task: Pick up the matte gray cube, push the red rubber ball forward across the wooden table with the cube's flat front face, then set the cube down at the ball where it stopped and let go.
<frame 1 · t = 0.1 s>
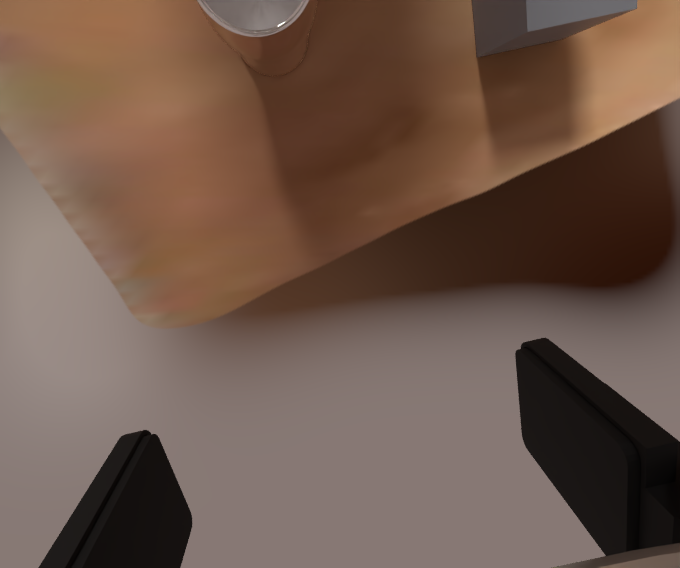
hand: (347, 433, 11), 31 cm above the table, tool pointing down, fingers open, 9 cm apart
beer glass: (271, 37, 35), on the table
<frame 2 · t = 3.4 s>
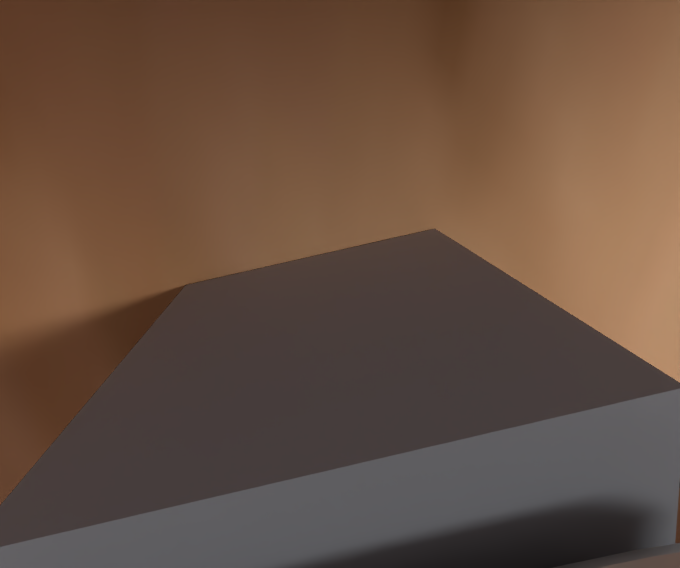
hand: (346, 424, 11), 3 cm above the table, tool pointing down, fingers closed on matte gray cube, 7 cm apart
matte gray cube: (337, 366, 14), on the table, touching gripper
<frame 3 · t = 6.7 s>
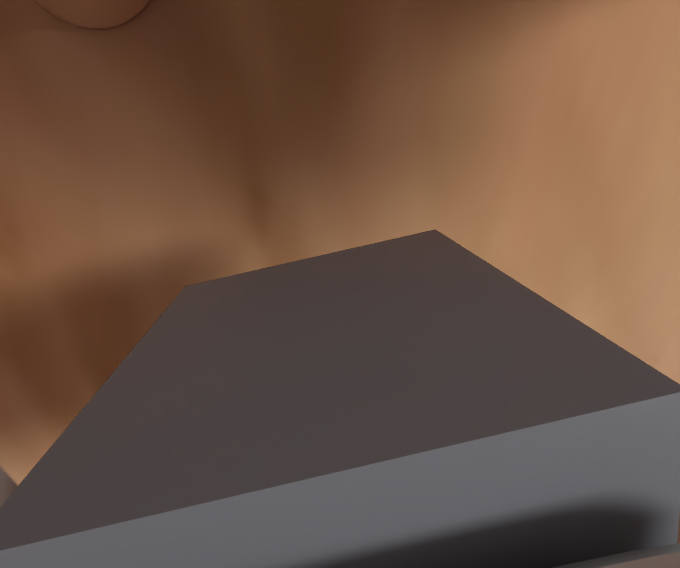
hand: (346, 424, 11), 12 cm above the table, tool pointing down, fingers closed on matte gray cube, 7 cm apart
matte gray cube: (337, 367, 14), point 9 cm above the table, touching gripper
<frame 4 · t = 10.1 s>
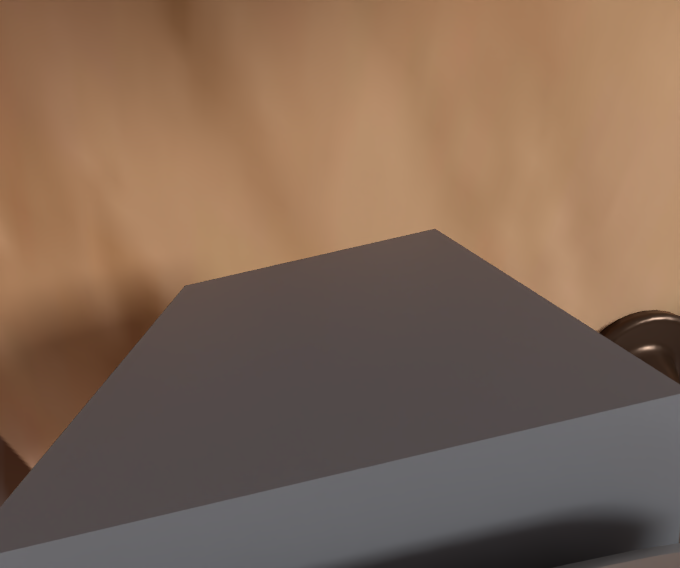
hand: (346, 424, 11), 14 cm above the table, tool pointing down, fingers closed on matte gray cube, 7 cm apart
candlestick: (635, 371, 29), on the table
matte gray cube: (337, 367, 14), point 11 cm above the table, touching gripper
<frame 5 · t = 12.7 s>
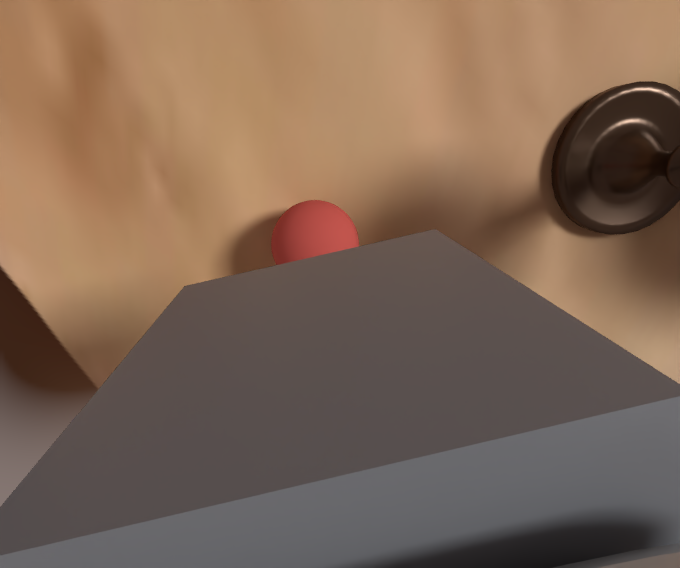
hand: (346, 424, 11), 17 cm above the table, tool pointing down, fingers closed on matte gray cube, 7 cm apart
candlestick: (618, 161, 27), on the table
matte gray cube: (337, 367, 14), point 14 cm above the table, touching gripper
ball: (315, 244, 24), on the table
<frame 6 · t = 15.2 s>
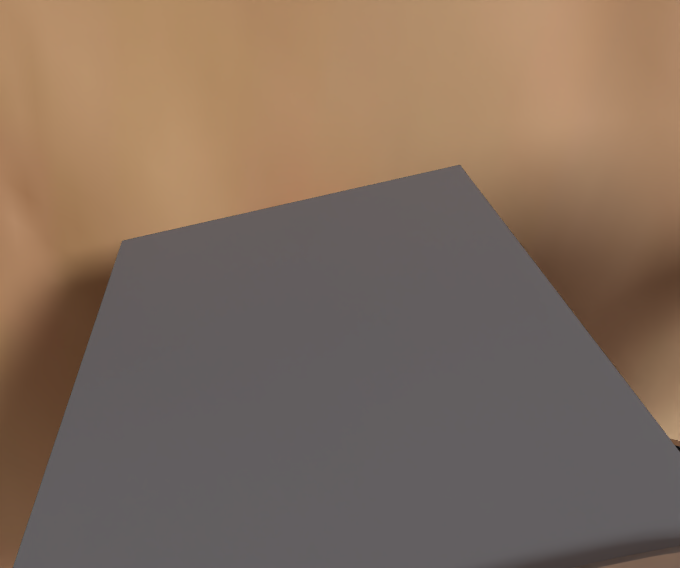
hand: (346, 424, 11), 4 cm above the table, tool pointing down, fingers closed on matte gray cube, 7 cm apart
matte gray cube: (322, 314, 12), point 2 cm above the table, tilted 26°, touching ball, gripper
when the fingers open (4 cm above the table, at t = 15.9 s): matte gray cube drops 2 cm, on the table.
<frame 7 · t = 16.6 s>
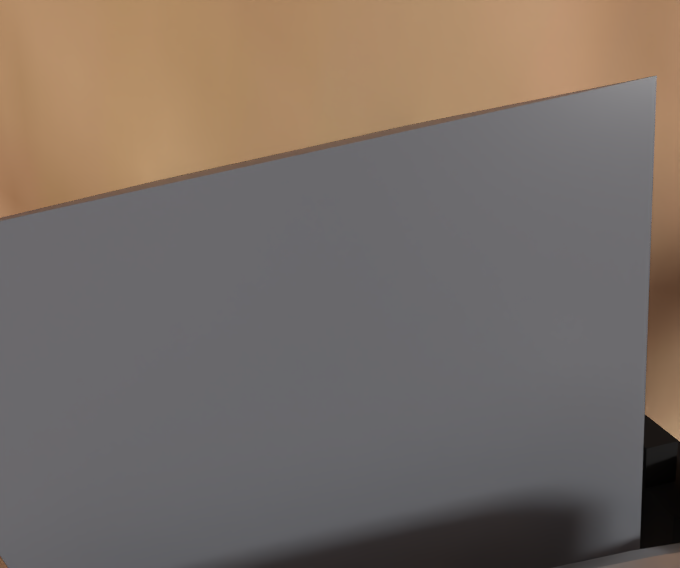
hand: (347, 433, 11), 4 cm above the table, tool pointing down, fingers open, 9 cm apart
matte gray cube: (313, 277, 13), on the table
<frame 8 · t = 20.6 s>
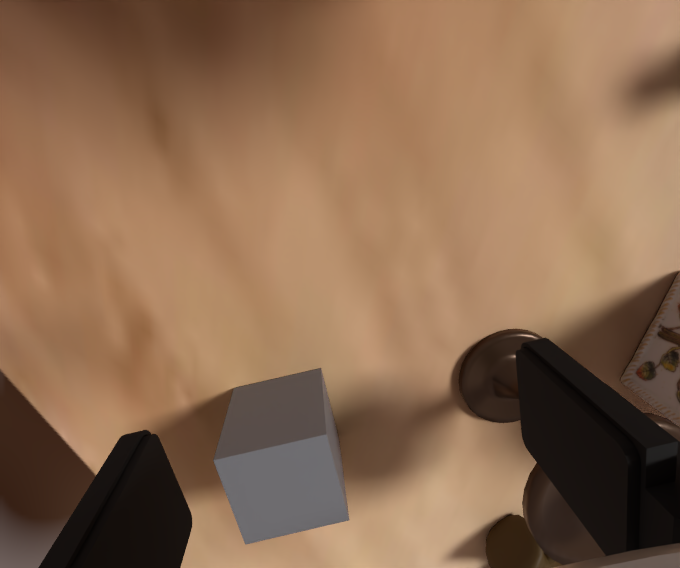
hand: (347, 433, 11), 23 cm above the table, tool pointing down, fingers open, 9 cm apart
candlestick: (506, 373, 38), on the table
matte gray cube: (288, 414, 37), on the table
kendama: (497, 559, 46), on the table
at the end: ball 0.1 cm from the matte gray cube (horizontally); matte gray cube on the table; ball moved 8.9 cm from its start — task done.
